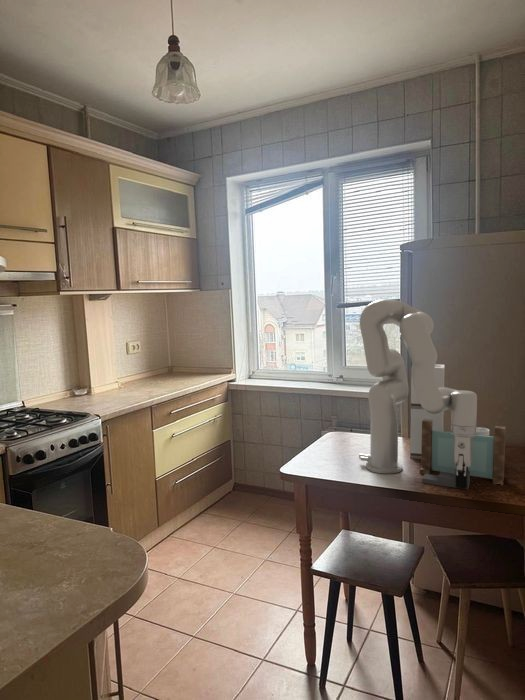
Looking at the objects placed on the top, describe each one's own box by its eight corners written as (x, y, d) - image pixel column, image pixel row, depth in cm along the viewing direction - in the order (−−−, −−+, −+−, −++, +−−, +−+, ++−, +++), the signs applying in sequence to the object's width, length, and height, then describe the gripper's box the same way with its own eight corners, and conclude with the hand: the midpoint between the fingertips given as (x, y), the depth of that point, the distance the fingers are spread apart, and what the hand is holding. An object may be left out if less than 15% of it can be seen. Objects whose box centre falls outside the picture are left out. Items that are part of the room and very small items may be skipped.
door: (431, 470, 174) (432, 431, 173) (432, 469, 176) (432, 430, 174) (492, 478, 165) (493, 437, 164) (492, 477, 167) (494, 436, 165)
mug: (483, 465, 181) (484, 432, 180) (465, 460, 186) (466, 429, 185) (495, 459, 187) (496, 427, 186) (478, 455, 192) (479, 424, 191)
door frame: (419, 473, 173) (420, 422, 171) (424, 466, 180) (424, 417, 178) (503, 485, 161) (504, 430, 159) (504, 477, 168) (505, 425, 166)
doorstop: (468, 489, 158) (468, 475, 157) (422, 482, 164) (422, 469, 164) (469, 484, 162) (470, 471, 162) (425, 478, 169) (425, 465, 168)
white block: (442, 453, 196) (444, 364, 192) (441, 461, 186) (443, 368, 183) (412, 450, 200) (413, 363, 197) (410, 458, 190) (411, 367, 187)
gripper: (473, 437, 150) (472, 495, 152) (478, 424, 165) (477, 478, 167) (447, 434, 153) (446, 491, 155) (454, 422, 168) (453, 475, 170)
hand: (462, 484), depth 161 cm, fingers closed on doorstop, 5 cm apart
